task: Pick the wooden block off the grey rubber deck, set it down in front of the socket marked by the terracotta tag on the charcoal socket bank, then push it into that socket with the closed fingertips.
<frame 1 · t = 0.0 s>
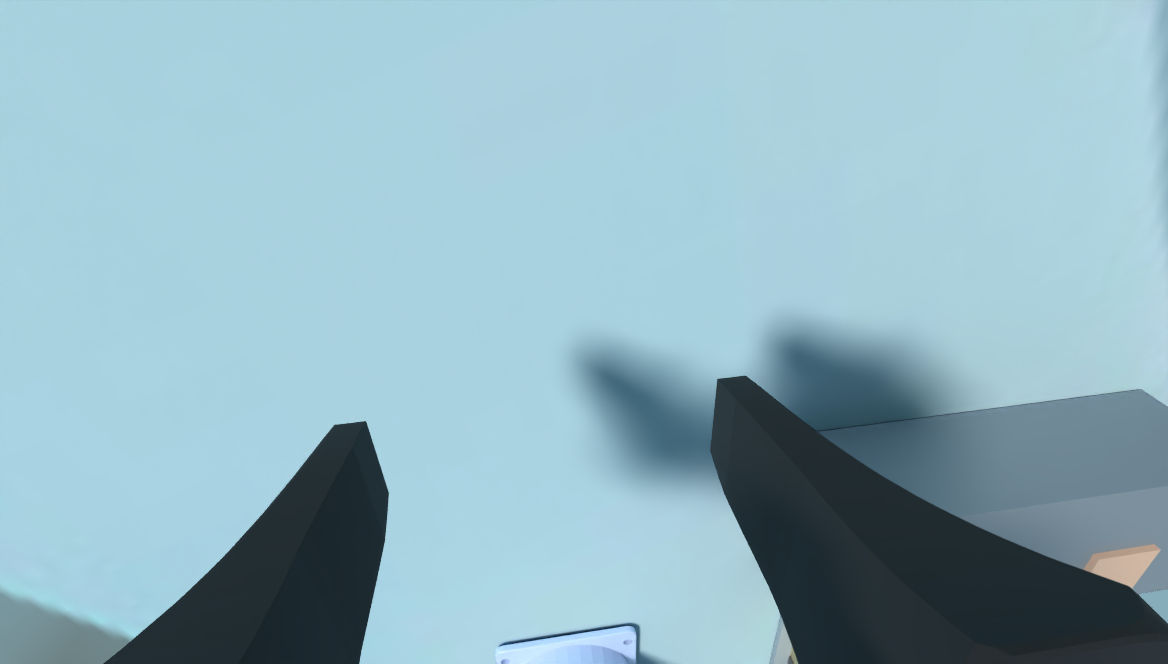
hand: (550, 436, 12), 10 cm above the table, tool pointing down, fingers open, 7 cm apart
socket bank: (939, 472, 31), on the table
deck: (832, 617, 37), on the table
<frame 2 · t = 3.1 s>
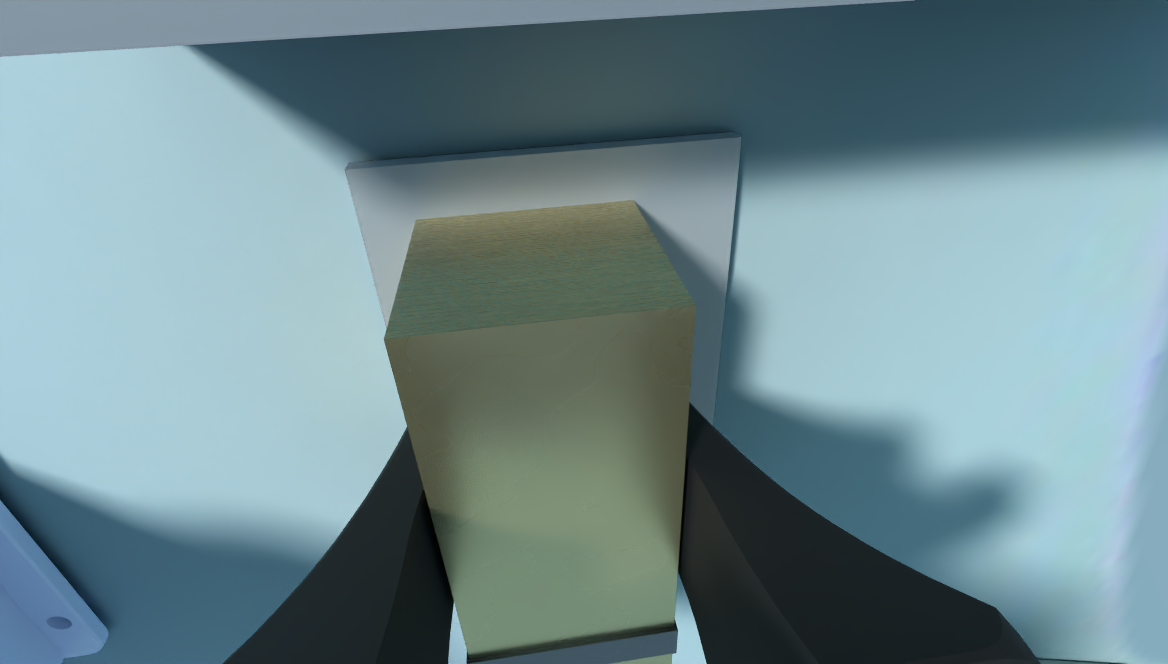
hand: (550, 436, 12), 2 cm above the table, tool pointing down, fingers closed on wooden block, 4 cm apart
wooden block: (545, 400, 13), resting on deck, touching gripper
deck: (565, 386, 14), on the table
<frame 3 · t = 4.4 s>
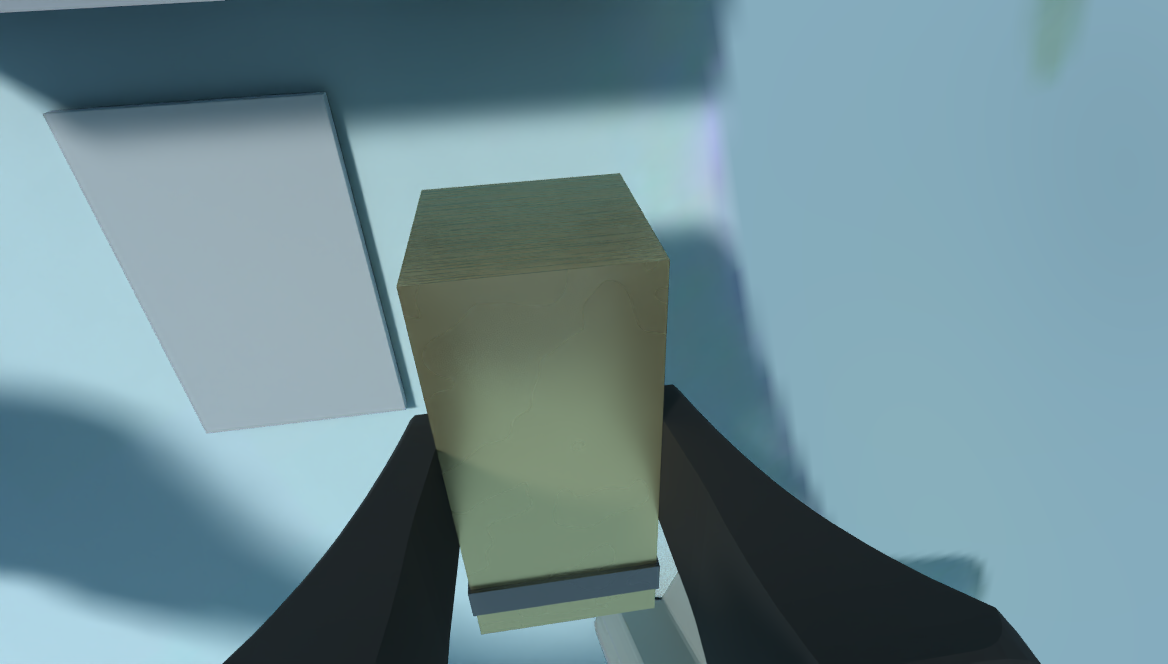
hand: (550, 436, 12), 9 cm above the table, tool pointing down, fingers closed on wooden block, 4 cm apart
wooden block: (540, 361, 15), point 6 cm above the table, touching gripper
deck: (260, 282, 19), on the table
digital clock: (737, 592, 32), on the table
when the fingers open (3 cm above the table, at t = 5.9 s): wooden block stays where it is, on the table.
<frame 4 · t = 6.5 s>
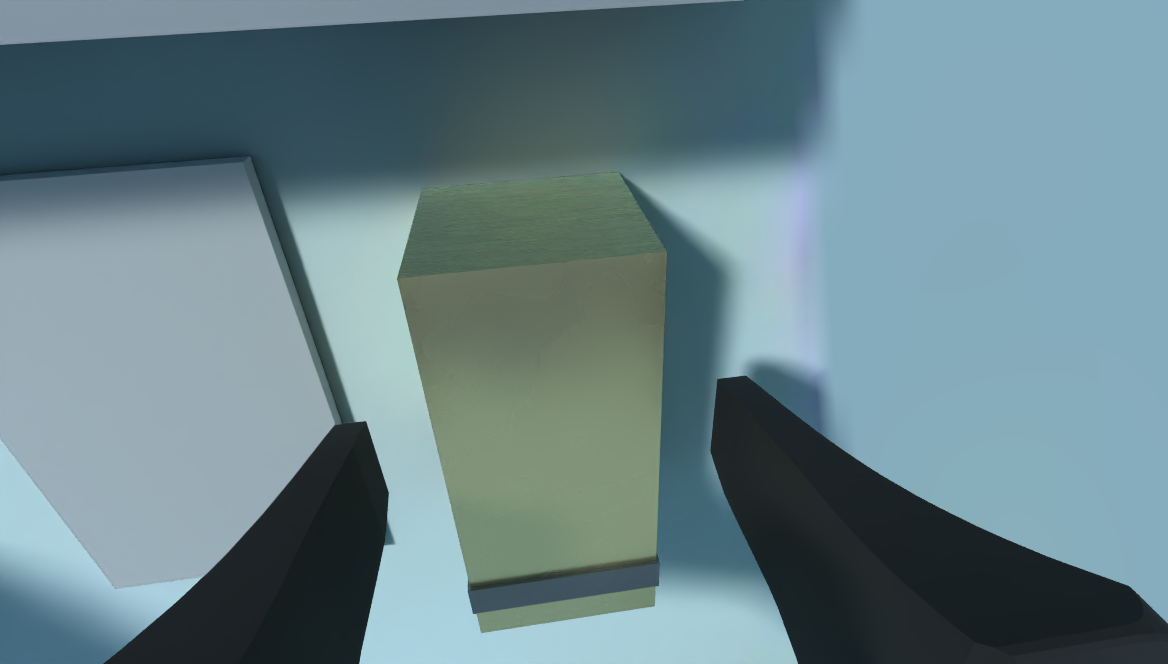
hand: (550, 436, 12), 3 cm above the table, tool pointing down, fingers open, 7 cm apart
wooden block: (539, 359, 15), on the table
deck: (174, 406, 14), on the table
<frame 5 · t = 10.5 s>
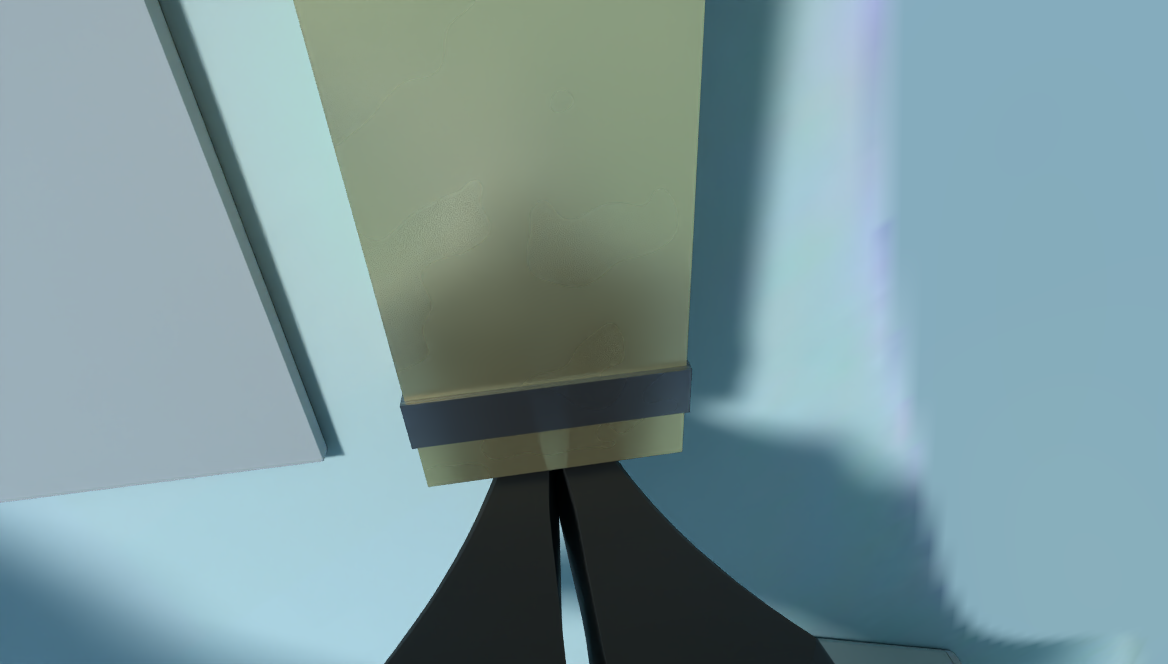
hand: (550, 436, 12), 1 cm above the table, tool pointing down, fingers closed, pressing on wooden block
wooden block: (514, 113, 10), on the table, touching gripper
deck: (29, 240, 10), on the table
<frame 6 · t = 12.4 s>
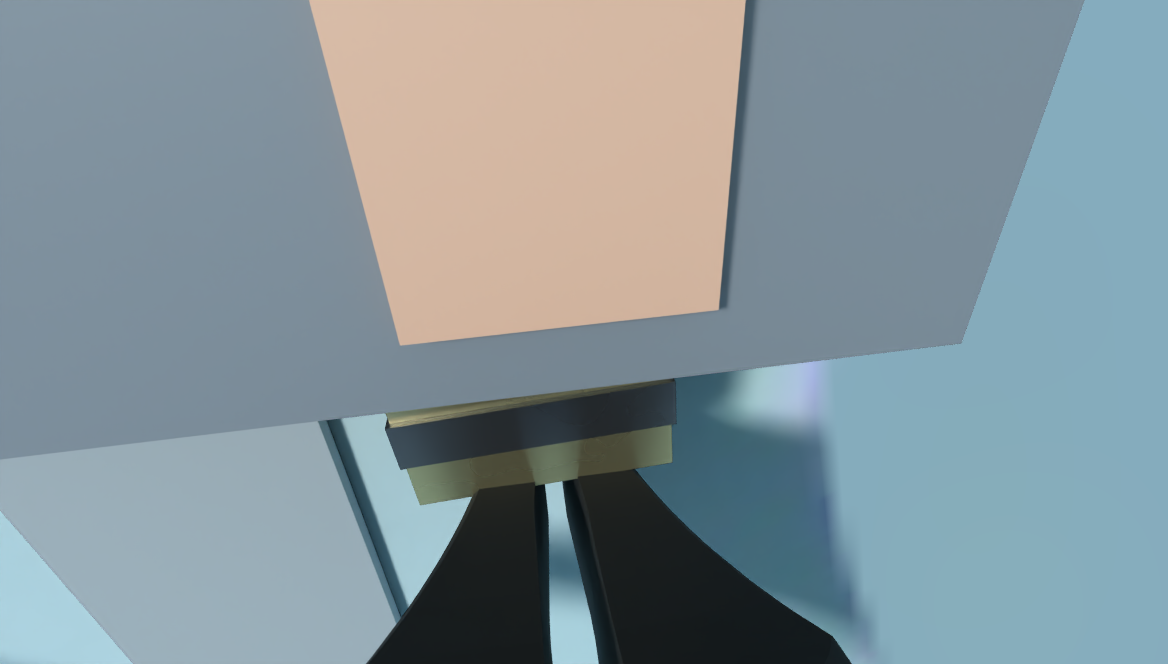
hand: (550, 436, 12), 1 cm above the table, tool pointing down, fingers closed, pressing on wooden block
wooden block: (494, 127, 10), on the table, touching gripper, socket bank
deck: (221, 545, 15), on the table
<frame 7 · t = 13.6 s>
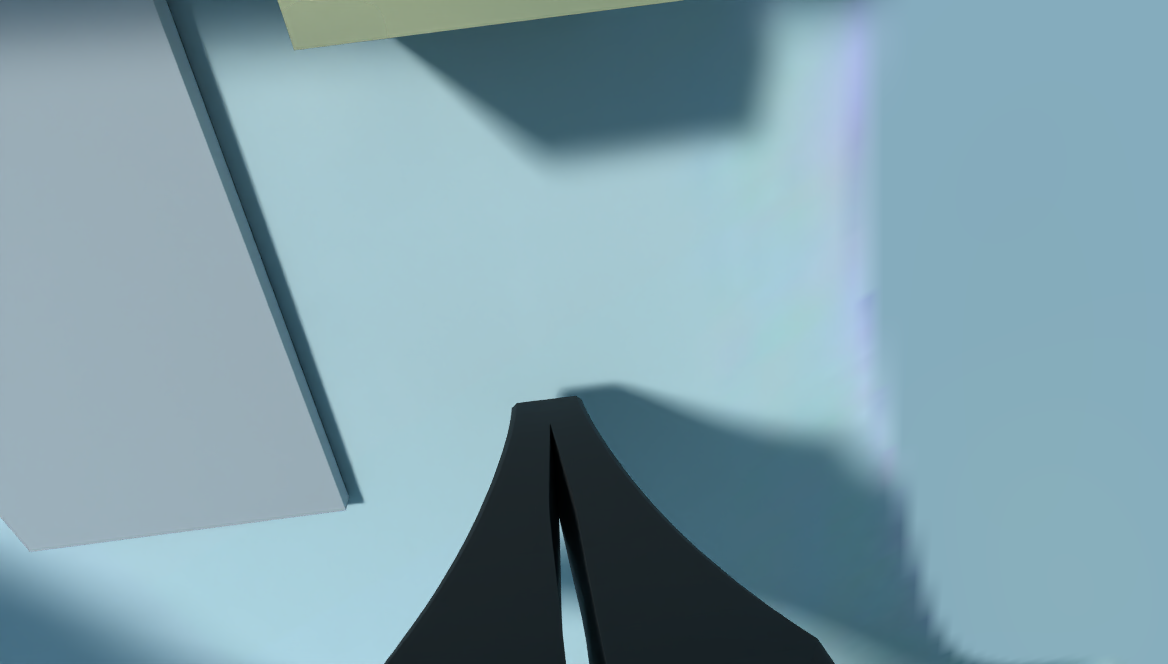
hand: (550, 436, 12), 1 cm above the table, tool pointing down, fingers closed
deck: (84, 320, 11), on the table
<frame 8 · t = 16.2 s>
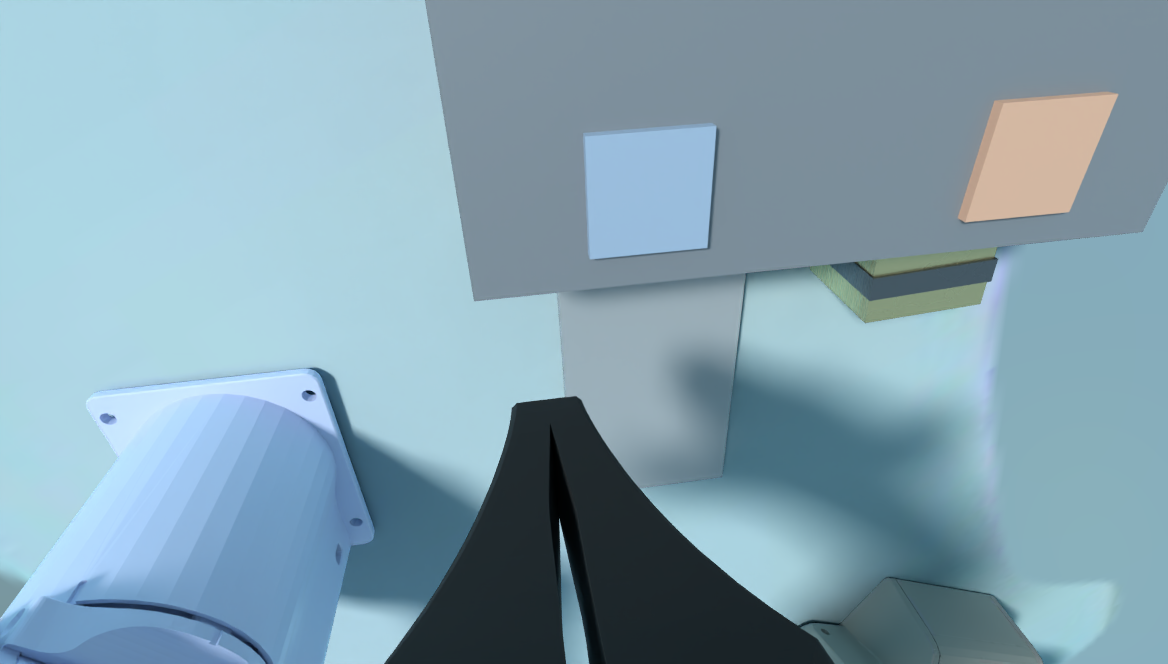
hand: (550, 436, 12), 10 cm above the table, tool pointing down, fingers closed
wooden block: (879, 144, 21), on the table
socket bank: (764, 72, 19), on the table
deck: (648, 387, 25), on the table
digital clock: (897, 620, 38), on the table
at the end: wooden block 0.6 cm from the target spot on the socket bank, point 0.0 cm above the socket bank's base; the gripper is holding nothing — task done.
